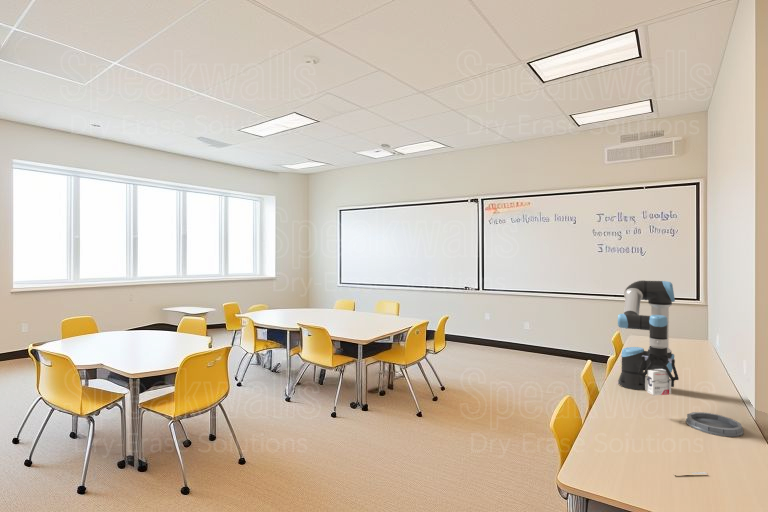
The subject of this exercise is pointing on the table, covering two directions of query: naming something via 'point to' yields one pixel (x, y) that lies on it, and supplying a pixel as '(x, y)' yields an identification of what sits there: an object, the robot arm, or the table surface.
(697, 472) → the grey thin rod
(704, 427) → the round bowl
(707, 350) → the table surface
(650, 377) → the ink box
